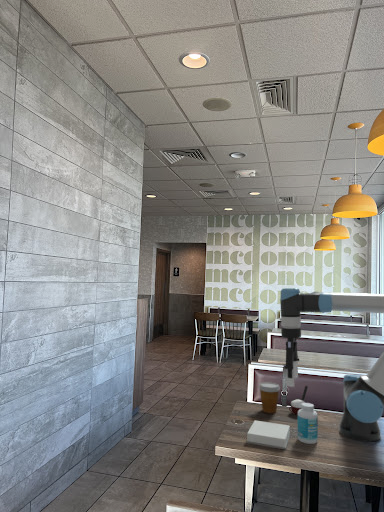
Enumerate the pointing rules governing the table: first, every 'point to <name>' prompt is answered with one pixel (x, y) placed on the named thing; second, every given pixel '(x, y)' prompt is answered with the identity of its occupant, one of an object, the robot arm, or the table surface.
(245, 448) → the table surface
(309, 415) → the pill bottle
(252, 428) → the block
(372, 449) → the table surface
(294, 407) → the cocoa
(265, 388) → the disposable coffee cup
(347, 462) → the table surface
